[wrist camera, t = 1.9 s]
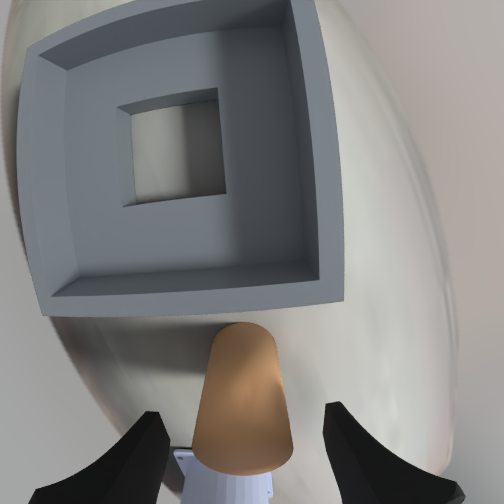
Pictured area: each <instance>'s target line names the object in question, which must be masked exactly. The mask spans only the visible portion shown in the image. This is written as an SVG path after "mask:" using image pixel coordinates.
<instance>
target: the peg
mask: <svg viewBox="0 0 504 504" xmlns="http://www.w3.org/2000/svg"><path fill="white" fill-rule="evenodd" d="M192 451H193V454H194V456H195V457H196V458H197V459H198V460H199V461H200V462H201V463H202V464H203V465H205V466H206V467H208V468H210V469H212V470H215V471H217V472H220V473H224V474H229V475H237V476H251V475H259V474H263V473H267V472H270V471H273V470H275V469H277V468H279V467H281V466H282V465H284V464H285V463H286V462H287V461H288V460H289V459H290V457H291V455H292V453H293V442H292V436H291V430H290V424H289V418H288V412H287V406H286V400H285V394H284V388H283V382H282V376H281V371H280V365H279V359H278V353H277V347H276V343H275V340H274V338H273V336H272V335H271V334H270V333H269V332H268V331H267V330H266V329H265V328H263V327H261V326H259V325H257V324H253V323H247V322H240V323H234V324H231V325H228V326H226V327H224V328H223V329H222V330H220V331H219V332H218V333H217V335H216V336H215V338H214V340H213V342H212V347H211V352H210V356H209V361H208V366H207V371H206V376H205V381H204V385H203V390H202V395H201V400H200V405H199V410H198V415H197V421H196V426H195V431H194V436H193V441H192Z"/></svg>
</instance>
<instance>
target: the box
mask: <svg viewBox="0 0 504 504" xmlns="http://www.w3.org/2000/svg"><path fill="white" fill-rule="evenodd" d="M218 99H219V111H220V124H221V136H222V148H223V160H224V172H225V183H226V193H225V194H215V195H206V196H197V197H188V198H180V199H172V200H165V201H157V202H150V203H143V204H137V202H136V193H135V183H134V171H133V158H132V140H131V115H133V114H137V113H141V112H146V111H151V110H155V109H160V108H166V107H171V106H177V105H183V104H189V103H195V102H202V101H210V100H218ZM17 181H18V195H19V206H20V214H21V222H22V229H23V236H24V242H25V247H26V252H27V257H28V262H29V267H30V271H31V276H32V280H33V284H34V288H35V291H36V295H37V299H38V302H39V305H40V308H41V312H42V315H43V316H61V317H150V316H179V315H200V314H217V313H232V312H245V311H257V310H269V309H279V308H290V307H299V306H308V305H317V304H325V303H334V302H341V301H344V217H343V196H342V179H341V166H340V154H339V144H338V134H337V125H336V117H335V109H334V102H333V94H332V88H331V81H330V75H329V69H328V63H327V58H326V53H325V47H324V42H323V37H322V33H321V28H320V24H319V19H318V15H317V11H316V7H315V3H314V0H135V1H132V2H129V3H126V4H122V5H119V6H116V7H114V8H111V9H108V10H105V11H103V12H100V13H97V14H95V15H92V16H90V17H87V18H85V19H83V20H80V21H78V22H76V23H74V24H71V25H69V26H67V27H65V28H63V29H61V30H59V31H57V32H55V33H53V34H51V35H49V36H47V37H46V38H44V39H42V40H40V41H38V42H37V43H35V44H33V45H31V46H30V47H28V48H27V52H26V57H25V62H24V68H23V74H22V81H21V88H20V96H19V106H18V120H17Z"/></svg>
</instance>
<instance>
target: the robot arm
mask: <svg viewBox="0 0 504 504" xmlns="http://www.w3.org/2000/svg"><path fill="white" fill-rule="evenodd" d="M323 437H324V442H325V447H326V452H327V455H328V458H329V461H330V464H331V467H332V470H333V473H334V476H335V478H336V481H337V484H338V487H339V490H340V494H341V498H342V503H343V504H461V503H462V502H463V501H464V499H465V495H464V493H463V491H462V489H461V488H460V486H459V485H458V484H457V482H455V481H452V480H448V479H445V478H441V477H438V476H435V475H433V474H430V473H428V472H426V471H423V470H421V469H419V468H417V467H415V466H413V465H412V464H410V463H408V462H406V461H404V460H403V459H401V458H400V457H398V456H397V455H395V454H394V453H392V452H391V451H389V450H388V449H387V448H385V447H384V446H383V445H382V444H381V443H379V442H378V441H377V440H376V439H375V438H374V437H373V436H371V435H370V434H369V433H368V432H367V431H366V430H365V429H364V428H363V427H362V426H361V425H360V424H359V423H358V422H357V420H356V419H355V418H354V417H353V416H352V415H351V414H350V412H349V411H348V410H347V409H346V408H345V406H344V405H343V404H342V403H341V402H340V401H338V402H333V403H327V404H326V406H325V416H324V425H323ZM169 447H170V438H169V436H168V433H167V431H166V429H165V426H164V424H163V421H162V419H161V416H160V414H159V412H151V411H146V412H145V413H144V414H143V415H142V416H141V417H140V418H139V420H138V421H137V422H136V423H135V424H134V425H133V426H132V427H131V428H130V429H129V431H128V432H127V433H126V434H125V435H124V436H123V437H122V438H121V439H120V440H119V441H118V442H117V443H116V444H115V445H114V446H113V447H112V448H111V449H109V450H108V451H107V452H106V453H105V454H104V455H103V456H101V457H100V458H99V459H98V460H96V461H95V462H94V463H92V464H91V465H89V466H88V467H86V468H85V469H83V470H81V471H79V472H78V473H76V474H74V475H72V476H70V477H68V478H66V479H64V480H62V481H59V482H57V483H54V484H51V485H48V486H45V487H42V488H38V489H36V490H35V492H34V494H33V495H32V497H31V499H30V501H29V503H28V504H156V501H157V497H158V493H159V489H160V485H161V482H162V478H163V475H164V471H165V468H166V464H167V460H168V455H169ZM173 454H174V456H175V458H176V460H177V463H178V465H179V467H180V469H181V471H182V472H183V474H184V476H185V481H184V487H183V492H182V498H181V504H268V498H271V497H272V496H273V490H272V479H271V471H270V472H267V473H263V474H259V475H251V476H237V475H229V474H224V473H220V472H217V471H215V470H212V469H210V468H208V467H206V466H205V465H203V464H202V463H201V462H200V461H199V460H198V459H197V458H196V457H195V456H194V454H193V451H192V450H187V449H176V450H174V453H173Z"/></svg>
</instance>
